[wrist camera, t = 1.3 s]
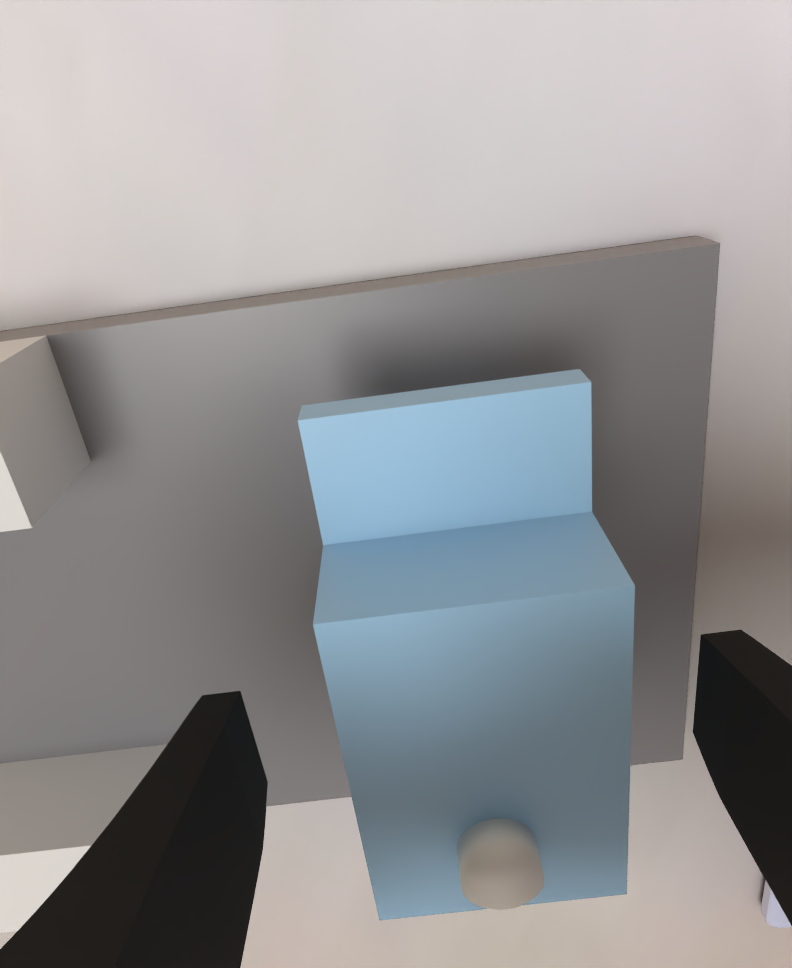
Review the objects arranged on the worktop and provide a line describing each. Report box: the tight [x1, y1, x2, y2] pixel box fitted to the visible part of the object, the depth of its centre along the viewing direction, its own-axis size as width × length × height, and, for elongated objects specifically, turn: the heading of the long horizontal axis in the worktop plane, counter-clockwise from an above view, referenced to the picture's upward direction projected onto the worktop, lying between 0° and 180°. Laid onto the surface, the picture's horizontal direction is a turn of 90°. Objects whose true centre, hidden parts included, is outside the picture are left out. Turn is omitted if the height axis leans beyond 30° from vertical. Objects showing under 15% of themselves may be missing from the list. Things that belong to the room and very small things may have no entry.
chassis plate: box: [0, 236, 720, 933], centre depth 14 cm, size 20×12×4 cm, turn 97°
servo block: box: [298, 369, 635, 920], centre depth 12 cm, size 4×10×6 cm, turn 7°
